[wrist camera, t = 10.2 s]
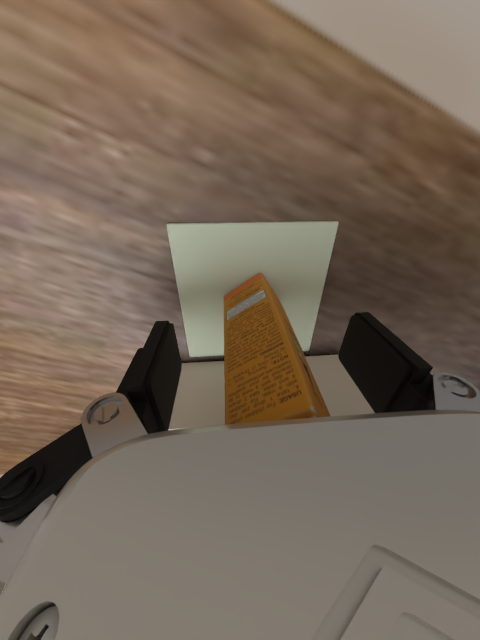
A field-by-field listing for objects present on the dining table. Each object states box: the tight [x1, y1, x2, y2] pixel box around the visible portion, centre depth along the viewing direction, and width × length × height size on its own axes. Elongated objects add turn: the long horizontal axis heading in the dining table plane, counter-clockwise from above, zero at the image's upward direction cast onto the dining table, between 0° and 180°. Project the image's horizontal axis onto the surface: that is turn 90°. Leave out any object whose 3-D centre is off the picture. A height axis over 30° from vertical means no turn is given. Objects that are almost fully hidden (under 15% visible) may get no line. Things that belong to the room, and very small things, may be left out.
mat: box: [166, 221, 339, 357], centre depth 15 cm, size 10×10×1 cm
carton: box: [168, 355, 375, 430], centre depth 17 cm, size 16×16×13 cm
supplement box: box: [223, 273, 330, 425], centre depth 11 cm, size 3×4×10 cm
